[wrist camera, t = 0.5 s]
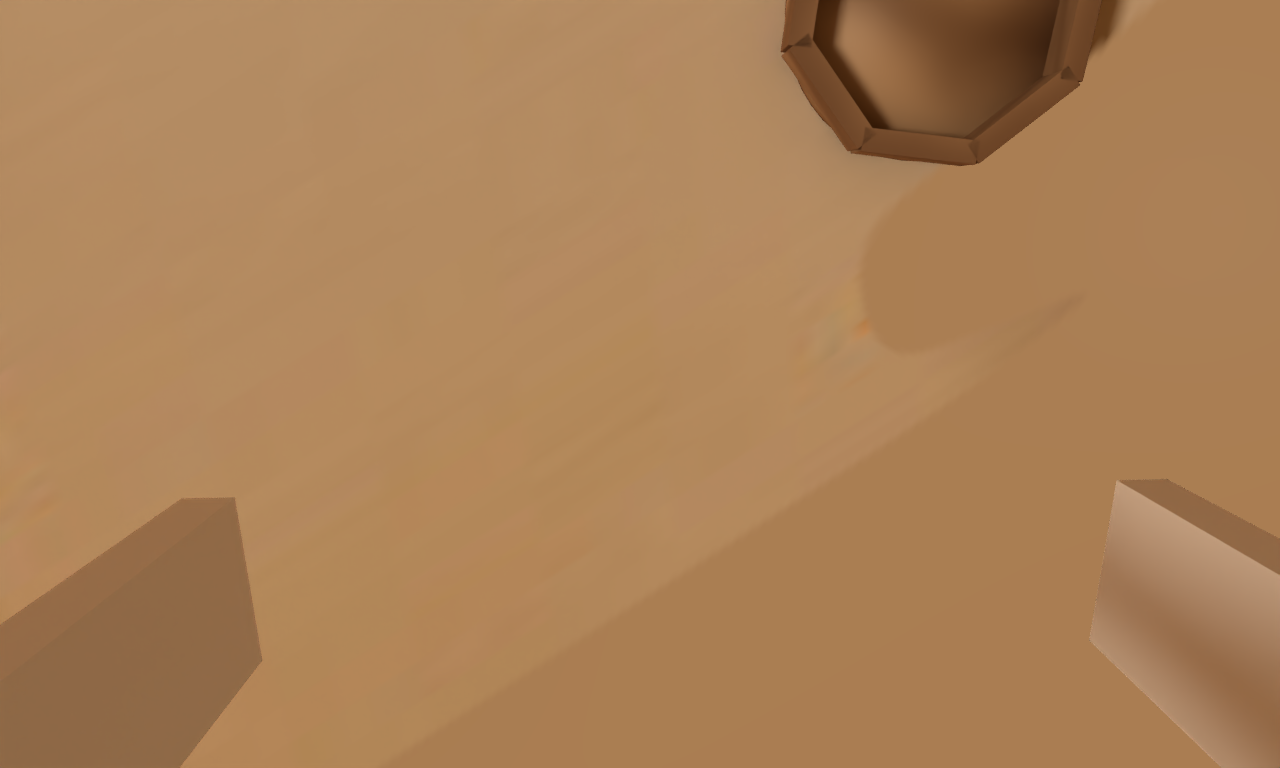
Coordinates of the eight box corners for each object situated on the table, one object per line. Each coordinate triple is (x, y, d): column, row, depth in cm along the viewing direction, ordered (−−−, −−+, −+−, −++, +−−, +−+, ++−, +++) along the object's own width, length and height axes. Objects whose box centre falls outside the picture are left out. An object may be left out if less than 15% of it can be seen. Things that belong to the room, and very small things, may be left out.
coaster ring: (810, -177, 30) (824, -204, 28) (1106, -136, 31) (1140, -159, 29) (765, 144, 34) (774, 140, 32) (1034, 175, 34) (1060, 174, 32)
